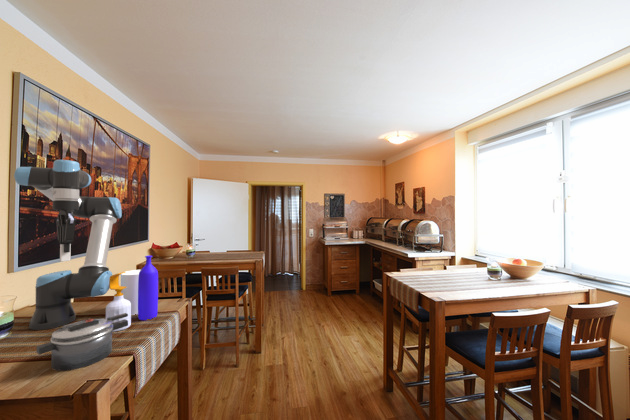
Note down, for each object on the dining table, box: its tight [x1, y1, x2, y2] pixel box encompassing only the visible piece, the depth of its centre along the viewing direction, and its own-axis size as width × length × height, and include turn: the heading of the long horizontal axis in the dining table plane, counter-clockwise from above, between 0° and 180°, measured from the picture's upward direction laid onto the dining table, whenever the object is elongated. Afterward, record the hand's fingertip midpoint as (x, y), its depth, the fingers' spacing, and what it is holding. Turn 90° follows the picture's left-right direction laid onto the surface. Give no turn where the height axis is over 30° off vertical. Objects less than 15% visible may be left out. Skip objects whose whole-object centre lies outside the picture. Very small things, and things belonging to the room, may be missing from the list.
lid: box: [51, 313, 128, 339], centre depth 96 cm, size 17×22×2 cm
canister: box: [120, 268, 142, 316], centre depth 139 cm, size 14×14×20 cm
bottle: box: [137, 255, 159, 321], centre depth 129 cm, size 8×8×30 cm
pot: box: [36, 319, 128, 372], centre depth 94 cm, size 17×25×9 cm, turn 150°
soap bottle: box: [105, 271, 132, 333], centre depth 118 cm, size 9×9×25 cm
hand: (65, 260), depth 103 cm, fingers closed
